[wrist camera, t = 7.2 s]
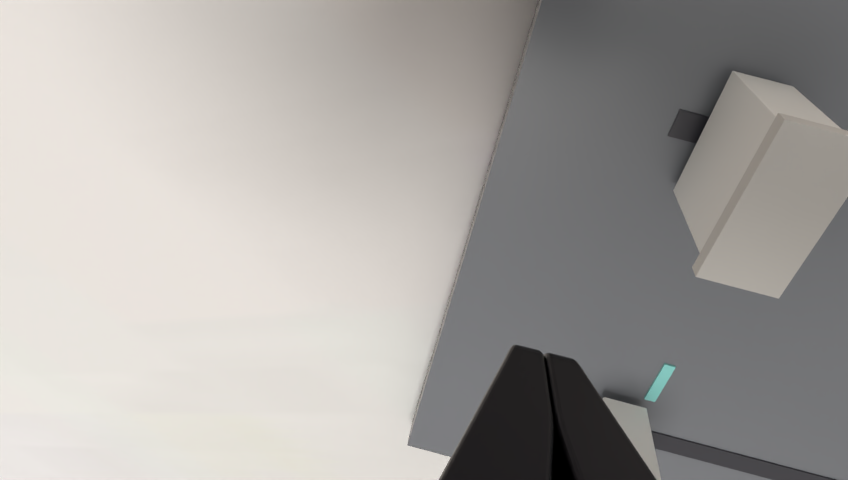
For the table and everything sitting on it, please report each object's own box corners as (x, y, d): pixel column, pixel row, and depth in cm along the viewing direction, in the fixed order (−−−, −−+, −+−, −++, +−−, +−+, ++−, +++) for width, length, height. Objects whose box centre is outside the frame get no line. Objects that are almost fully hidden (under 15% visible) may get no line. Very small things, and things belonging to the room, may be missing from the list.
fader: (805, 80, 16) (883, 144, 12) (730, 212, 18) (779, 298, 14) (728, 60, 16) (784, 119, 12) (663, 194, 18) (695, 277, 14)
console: (1392, 133, 16) (1481, 162, 14) (904, 554, 27) (926, 596, 25) (562, -79, 16) (565, -72, 15) (411, 423, 27) (404, 456, 25)
